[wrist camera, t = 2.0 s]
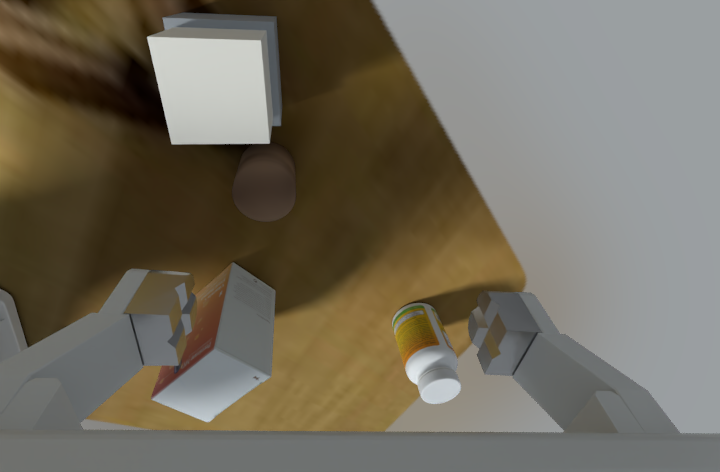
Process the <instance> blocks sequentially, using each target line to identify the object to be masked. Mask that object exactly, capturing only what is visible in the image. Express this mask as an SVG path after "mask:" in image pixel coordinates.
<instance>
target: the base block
mask: <svg viewBox="0 0 720 472" xmlns="http://www.w3.org/2000/svg"><path fill="white" fill-rule="evenodd" d="M163 23H164V28H165V30H168V29H170V28H173V27H190V28H217V29H244V30H266V31H267V44H268V57H269V70H270V83H271V96H272V108H273V123H272V126H281V117H282V96H281V80H280V65H279V49H278V33H277V18H276V16H253V15H229V14H206V13H179V14H175V15H171V16H167V17H163Z"/></svg>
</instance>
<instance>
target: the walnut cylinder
mask: <svg viewBox="0 0 720 472" xmlns="http://www.w3.org/2000/svg"><path fill="white" fill-rule="evenodd" d="M232 197H233V201H234V203H235V205H236V207H237V208H238V209H239V210H240V211H241V212H242V213H243V214H244V215H245V216H247V217H249V218H251V219H253V220H257V221H262V222H269V221H275V220H278V219H280V218H282V217H284V216H286V215H287V214H288V213H289V212H290V211H291V209H292V208H293V206H294V204H295V200H296V176H295V163H294V160H293V157H292V156H291V154H290V153H289V152H288V151H287V150H286V149H285V148H284V147H283V146H281V145H279V144H277V143H274V142H270V144H253V145H251V146H249V147H248V148H247V149H246V150H245V151H244V153H243V154H242V156H241V159H240V162H239V166H238V169H237V173H236V176H235V180H234V183H233V187H232Z"/></svg>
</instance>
